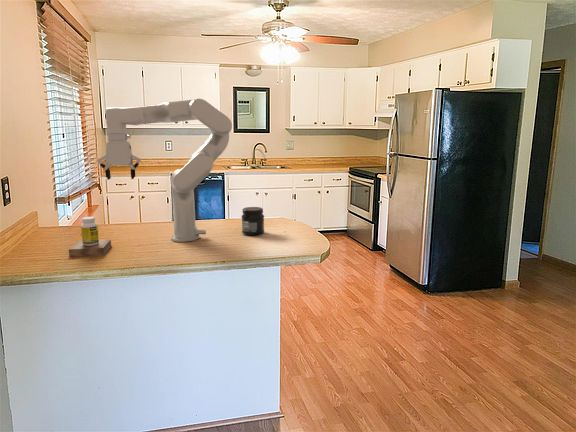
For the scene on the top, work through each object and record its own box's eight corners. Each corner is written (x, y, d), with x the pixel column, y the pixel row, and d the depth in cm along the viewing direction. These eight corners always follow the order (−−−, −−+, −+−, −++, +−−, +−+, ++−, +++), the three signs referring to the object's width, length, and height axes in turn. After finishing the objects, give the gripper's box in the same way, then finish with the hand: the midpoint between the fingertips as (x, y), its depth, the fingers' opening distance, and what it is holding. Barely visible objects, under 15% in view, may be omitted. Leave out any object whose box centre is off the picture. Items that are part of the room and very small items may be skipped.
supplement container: (264, 230, 218) (264, 206, 216) (264, 236, 208) (263, 210, 205) (242, 231, 218) (242, 206, 215) (241, 236, 208) (240, 211, 205)
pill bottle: (93, 246, 182) (90, 219, 179) (79, 245, 183) (76, 219, 180) (102, 242, 188) (99, 216, 185) (88, 241, 189) (86, 215, 186)
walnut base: (111, 246, 193) (110, 239, 192) (103, 255, 180) (103, 247, 180) (79, 247, 191) (78, 240, 190) (69, 256, 179) (68, 249, 178)
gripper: (140, 137, 192) (143, 177, 196) (98, 137, 190) (101, 178, 194) (137, 138, 185) (140, 179, 189) (93, 138, 183) (97, 180, 186)
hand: (120, 178), depth 191 cm, fingers open, 9 cm apart
